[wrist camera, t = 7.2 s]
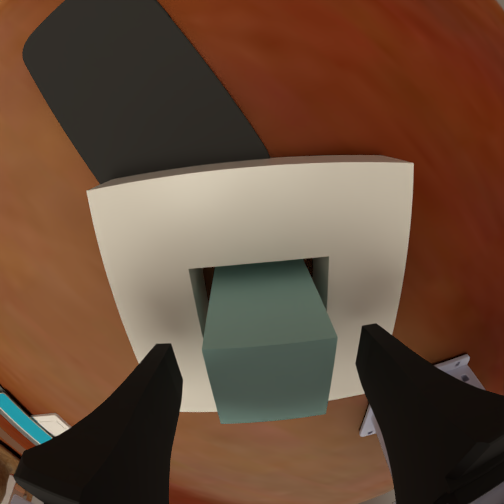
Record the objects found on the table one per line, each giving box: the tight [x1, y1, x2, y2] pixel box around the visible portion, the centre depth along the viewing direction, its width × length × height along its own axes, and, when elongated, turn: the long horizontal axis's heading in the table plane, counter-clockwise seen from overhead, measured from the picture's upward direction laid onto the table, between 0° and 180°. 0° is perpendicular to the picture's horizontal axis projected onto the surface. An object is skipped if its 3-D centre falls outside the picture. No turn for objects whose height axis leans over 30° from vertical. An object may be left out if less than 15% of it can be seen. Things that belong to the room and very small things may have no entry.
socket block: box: [87, 155, 414, 412], centre depth 14 cm, size 13×13×3 cm
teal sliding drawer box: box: [0, 386, 71, 446], centre depth 22 cm, size 20×12×2 cm, turn 25°
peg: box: [202, 259, 338, 424], centre depth 12 cm, size 4×4×7 cm
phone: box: [23, 0, 270, 184], centre depth 11 cm, size 7×1×15 cm
